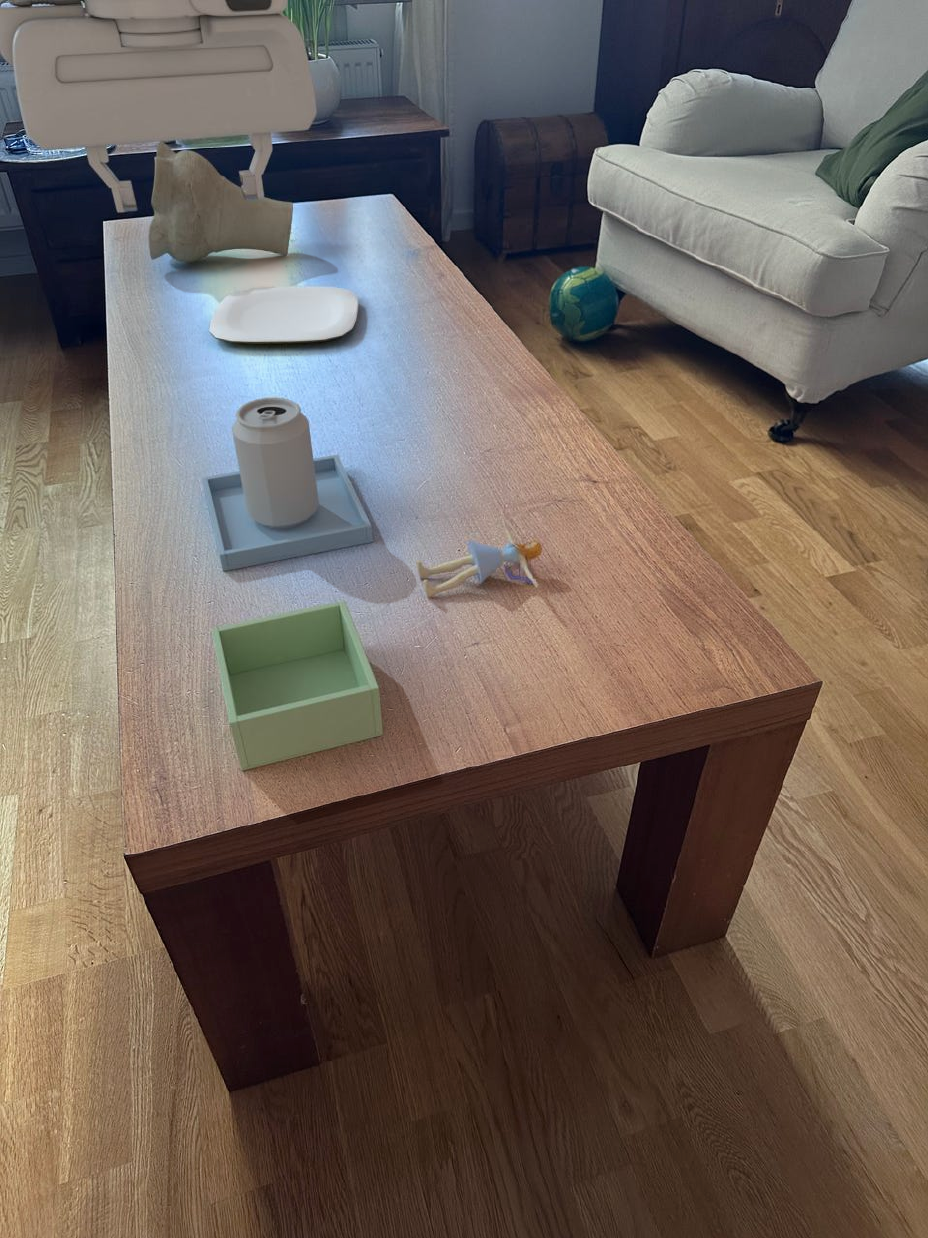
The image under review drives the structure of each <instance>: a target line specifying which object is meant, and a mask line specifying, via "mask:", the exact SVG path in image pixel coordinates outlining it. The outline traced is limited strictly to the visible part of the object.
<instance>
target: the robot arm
mask: <svg viewBox="0 0 928 1238" xmlns="http://www.w3.org/2000/svg"><path fill="white" fill-rule="evenodd" d="M288 1H289V0H0V56H1V57H2V58H3V59H4V60H5V62H6V63H7V64H9V65H10V66H11V67H12V68H13V75H14V81H15V82H14V83H15V88H16V89H15V90H16V93H17V100H18V105H19V110H20V114H21V119H22V123H23V127H24V130H25V135H26V137H27V138H28V139H29V140H30V141H31V142H32V143H33V144H35V145H36V146H37V147H38V148H40V149H41V150H42V151H43V150H44V151H53V150H66V149H81V148H85V153H86V157H87V161H88V165H89V166H90V167H91V168H92V169H93V170H94V173H96V174H97V175H98V177H99V178H100V179H101V180H102V181H103V182H104V183H105V185H106V186H107V187H108V188H109V189H111V193H112V196H113V201H114V204H115V205H114V206H115V209H116V212H117V213H128V212H137V211H138V206H137V201H136V198H135V193H134V189H133V188H134V187H133V184H132V181H131V180H119V178H118V177H117V176H116V175H115V173H114V172H113V171H112V170H111V169H110V167H109V166H108V165H107V163H109V162H110V158H109V152H108V149H107V146H116V145H117V146H119V145H129V144H130V145H133V144H144V143H159V142H160V141H162V142H169V141H170V142H171V141H172V142H173V141H184V140H185V141H186V140H195V139H197V140H198V139H211V138H223V137H236V136H248V141H249V144H250V145H251V147H252V148H253V149H254V150H255V151H254V154H253V157H252V160H251V162H250V166H249V169H247V170H245V169H244V170H239V171H238V175H239V181H240V183H241V186H240V188H241V189H242V194H243V197H244V199H245V200H256V199H264V197H265V192H264V186H263V178H262V175H264V173H265V170H266V167H267V165H268V163H269V160H270V157H271V155H272V153H273V141H272V134H275V133H288V132H289V133H290V132H301V131H302V132H303V131H308V130H309V129H310V128H311V126H312V125H313V123H314V121H315V119H316V118H317V113H318V112H317V101H316V94H315V88H314V80H313V76H312V75H313V74H312V69H311V66H310V61H309V58H308V54H307V53H308V52H307V48H306V46H305V42H304V39H303V37H302V35H301V32H300V30H299V29H298V27H297V26H296V24H295V23H294V22H293V21H292V20H291V19H289V18H288V16H286V15H284V14H283V13H282V12H284V11H285V10H286V9H287V7H288ZM7 2H9V5H10V6H2V5H3V4H4V3H7Z"/></svg>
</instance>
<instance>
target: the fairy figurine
mask: <svg viewBox="0 0 928 1238" xmlns="http://www.w3.org/2000/svg"><path fill="white" fill-rule="evenodd" d="M501 522H502V526H503V529H504V532H505V535H506V537H507V541H508V542H507V543H506V545H505V547H501V548H498V547H495V546H492V545H488V544H484V543H480V542H476V541H472V540H469V541H468V545H467V546H468V552H469V555H466V556H462V557H460V558H459V559H454V560H449V561H445V562H443V563H440V564H438V565H436V566H433V567H425V566H424V565H423V563H422V561H421V560H419V559H418V560H416V565H417V566H416V568H417V572H418V577H419V579H420V580H422V579H424V578H428V577H429V576H434V575H439V574H445V573H453V572H455V571H458V570H460V569H461V568H462V567H464V566H467V565H468V566H469V565H472V566H471V567H470V568H468V569H465V570H464V571H462V572H460V573H458V574H456V575H455V576H453V577H452V578H450V579H449V580H447V581H444V583H442V584H440V585H438V586H432V585H431V583H430V581H429V579H424V580H423V586H424V592H425V595H426V598H430V597H433V596H435V595H438V594H440V593H443V592H446V591H451V590H453V589H455V588H457V587H459V586H460V585H461V584H462V583H463V582H465V581H467V579H468V578H470V577H473V576H475V577H476V580H477V582H478V584H480V585H481V584H483V583H484V581H486V580H487V579H488V578H489V576H491V575H492V573H494V572H495V571H496V570H497V569H498V568H499V567H500V566H501V565H502V564H503V563H504V562H506V563H505V567H504V569H505V573H506V575H507V577H508V578H510V580H514V581H517V580H520V581H521V582H526V583H529V584H530V585H533V586H534V587H536V588H538V587H539V584H538V582H537V579H536V578H534V575H533V573H532V571H531V569H530V566H529V565H528V563H529V562H531V561H532V560H534V559H537V558H539V556H541V555H542V551H543V547H542V543H541V542H540V541H538V540H537V539H536V540H535V539H534V540H532V541H528V542H526V543H525V544H524V543H521V544H520V543H517V542H515V541H514V538H513V537H512V534H511V533H510V531H509V530H508V526H507V524H506V521H505V518H504V517H503V516H501ZM509 563H512V564H513V565H511V567H512V566H513V568H512V571H510V567H509ZM516 564H517V567H516V568H515V566H514V565H516ZM514 569H515V570H518V574H516V575H515V573H513V572H514ZM521 569H522V571H523V574H522V575H523V576H521ZM524 573H525V575H526V576H525V575H524Z"/></svg>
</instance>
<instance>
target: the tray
mask: <svg viewBox="0 0 928 1238" xmlns="http://www.w3.org/2000/svg"><path fill="white" fill-rule="evenodd" d="M313 460H314V468H315V476H316V484H317V492H318V500H319V504H318V509H317V510H316V512H315V513H314V514H313V515H312V516H311V517H310V518H309V519H308V520H307V521H305V522H304V523H303V524H300V525H298V526H295V527H291V528H286V529H275V528H268V527H266V526H264V525H262V524H260V523H258V522H256V521H254V520H253V519H252V518H251V517H249V515H248V512H247V508H246V502H245V497H244V492H243V487H242V481H241V476H240V471H233V472H227V473H222V474H215V475H210V476H204V477H201V482H202V486H203V491H204V495H205V499H206V504H207V509H208V512H209V517H210V521H211V526H212V529H213V535H214V538H215V542H216V547H217V552H218V557H219V560H220V564H221V568H222V572H227V571H231V570H232V571H233V570H236V569H237V570H238V569H242V568H247V567H252V566H258V565H262V564H267V563H274V562H278V561H283V560H288V559H293V558H299V557H304V556H307V555H313V554H318V553H323V552H328V551H329V552H330V551H334V550H338V549H344V548H349V547H353V546H359V545H365V544H369V543H374V538H373V537H374V536H373V527H372V524H371V521H370V519H369V518H368V515H367V513H366V510H365V509H364V507H363V504H362V503H361V501H360V499H359V496H358V494H357V492H356V490H355V488H354V486H353V483H352V481H351V479H350V477H349V476H348V473H347V471H346V469H345V467H344V465H343V463H342V460H341V459H340V456H339V455H338V454H334V455H327V456H321V457H315V458H313Z"/></svg>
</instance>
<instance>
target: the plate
mask: <svg viewBox="0 0 928 1238" xmlns="http://www.w3.org/2000/svg"><path fill="white" fill-rule="evenodd" d="M359 303H360V302H359V300H358V295H357V294H355V293H354V292H353V291H351V290H350V289H347V288H342V287H336V286H317V285H313V286H311V285H310V286H309V285H308V286H307V285H305V286H302V285H299V286H298V285H297V286H264V287H263V286H262V287H252V288H251V287H250V288H247V289H240V290H237V291H234V292H232V293H230V294H228V295H226V296H224V298H223V299H222V300H221V301H220V302H219V303H218V305H217V307H216V308H215V311H214V312H213V315H212V318H211V320H210V322H209V330H208V332H209V333H210V335H212V337H213V338H215V339H216V340H217V341H218V340H219V341H223V342H228V343H233V344H252V345H253V344H258V345H259V344H262V345H263V344H304V343H317V342H318V343H319V342H326V341H330V340H331V341H332V340H335V339H340V338H342V337H344V336H345V335H347V334H348V333H350V332H351V331H353V329H354V327H355V325H356V323H357V319H358V314H359V313H358V312H359Z"/></svg>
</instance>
